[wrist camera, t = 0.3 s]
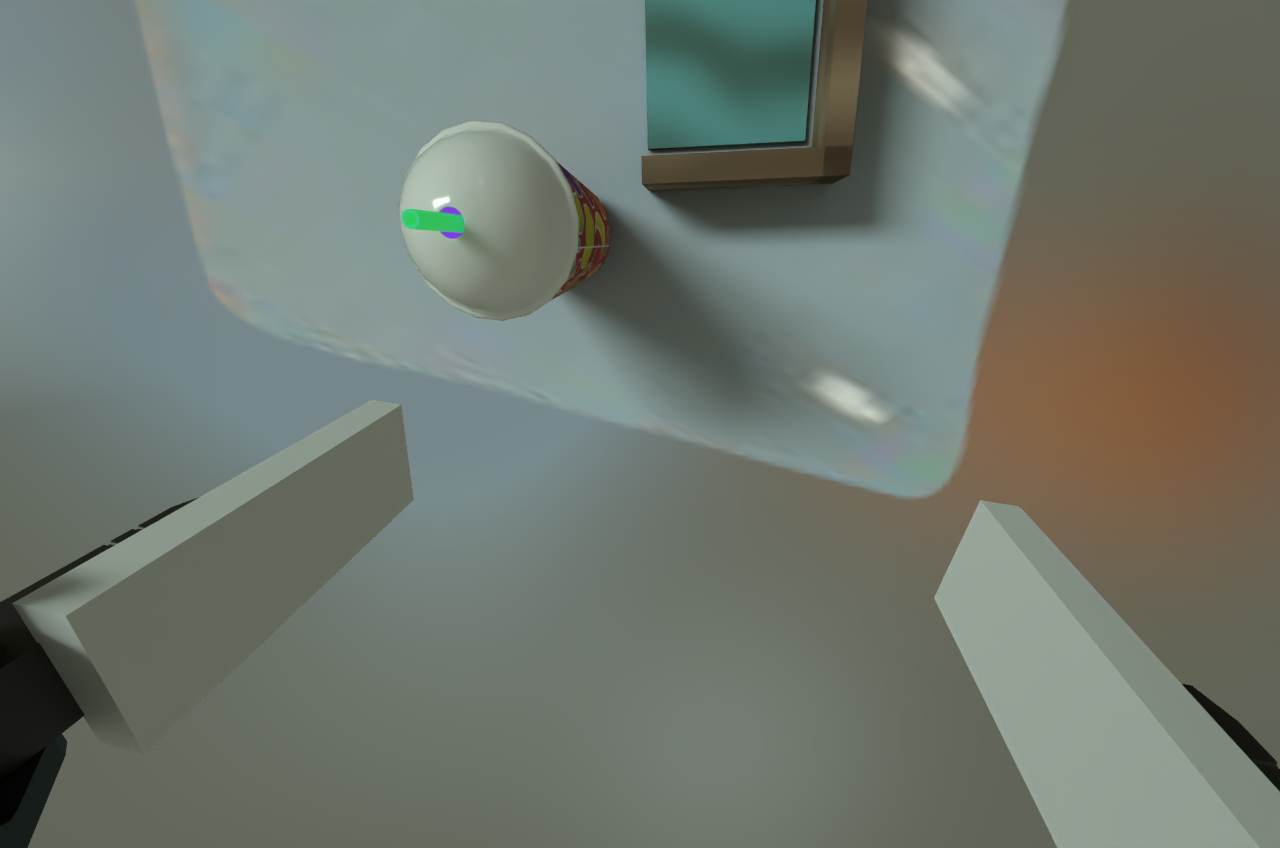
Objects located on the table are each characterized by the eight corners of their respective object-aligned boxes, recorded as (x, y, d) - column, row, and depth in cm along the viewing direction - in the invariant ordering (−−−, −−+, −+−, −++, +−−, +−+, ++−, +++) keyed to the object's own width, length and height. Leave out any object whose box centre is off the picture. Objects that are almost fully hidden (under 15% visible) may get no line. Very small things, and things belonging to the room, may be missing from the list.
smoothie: (511, 289, 37) (314, 332, 18) (509, 165, 34) (271, 65, 15) (621, 299, 36) (532, 354, 17) (628, 173, 33) (531, 77, 15)
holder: (644, -95, 28) (635, -146, 25) (861, -119, 27) (886, -179, 23) (649, 191, 33) (642, 183, 30) (832, 183, 32) (849, 174, 28)
